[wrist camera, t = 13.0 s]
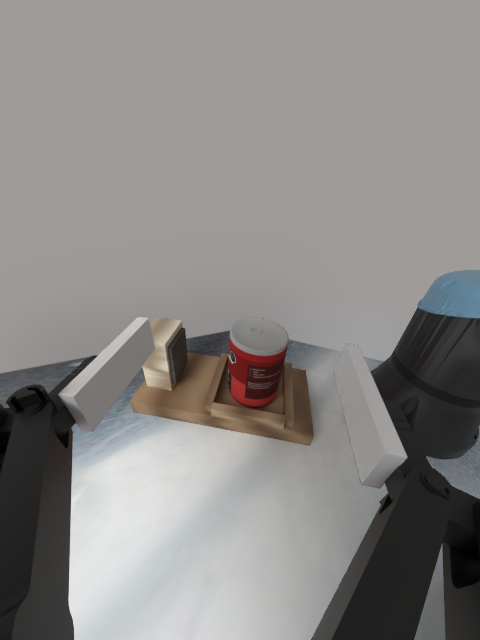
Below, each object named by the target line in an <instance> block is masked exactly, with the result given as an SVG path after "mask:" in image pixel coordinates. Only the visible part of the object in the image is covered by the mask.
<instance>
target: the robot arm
mask: <svg viewBox="0 0 480 640" xmlns="http://www.w3.org/2000/svg"><path fill="white" fill-rule="evenodd" d="M154 350H155V345H154V341H153V336H152V332H151V328H150V323H149V319H148V318H142V317H138V318H137V319H136V320H135V321H134V322H132V323H131V324H130V325H129V326H128V327H127V328H126V329H125V330H124V331H123V332H122V333H121V334H120V335H119V336H118V337H117V338H116V339H115V340H114V341H113V342H112V343H111V344H110V345H109V346H108V347H107V348H106V349H104V350H103V351H102V352H101V353H100V354H99V355H98V356H92V357H90V358H88V359H86V360H85V361H83V362H82V363H81V364H80V365H79V366H78V367H77V369H75V370H74V371H72V372H71V374H70V375H68V376H67V377H66V378H65V379H64V380H63V381H62V382H61V383H59V384H58V385H57V386H56V387H55V388H54V389H53V390H52V391H51V392H50V393H49V394H48V393H47V392H46V390H45V389H44V387H43V386H41V385H30V386H26V387H24V388H21V389H20V390H18V391H16V392H15V393H13V394H12V395H11V396H10V397H9V398H8V400H7V401H6V403H7V404H8V405H9V407H10V408H4V407H3V406H2V405H1V404H0V640H74V626H73V620H72V616H71V614H70V611H69V605H68V592H69V554H70V516H71V477H72V439H73V432H72V429H71V427H72V426H73V425H74V424H75V423H76V424H77V425H78V427H79V428H80V429H82V430H87V431H92V432H93V431H94V430H95V429H96V427H97V426H98V425H99V423H100V422H101V421H102V419H103V418H104V417H105V415H106V414H107V413H108V411H109V410H110V409H111V407H112V406H113V405H114V403H115V402H116V401H117V399H118V398H119V397H120V395H121V394H122V393H123V391H124V390H125V389H126V387H127V386H128V385H129V383H130V382H131V381H132V379H133V378H134V377H135V375H136V374H137V373H138V371H139V370H140V369H141V367H142V366H143V365H144V363H145V362H146V360H147V359H148V358H149V356H150V355H151V354H152V352H153V351H154ZM334 377H335V381H336V385H337V389H338V393H339V397H340V401H341V405H342V409H343V414H344V418H345V422H346V426H347V430H348V434H349V438H350V442H351V446H352V450H353V454H354V458H355V462H356V466H357V470H358V474H359V478H360V482H361V485H365V486H370V487H375V488H380V487H381V486H382V485H383V484H384V483H385V484H386V487H387V490H388V494H387V495H386V496H385V497H384V498H383V499H382V500H381V501H380V502H379V503H380V504H381V506H380V508H379V510H378V512H377V513H376V515H375V517H374V519H373V521H372V523H371V525H370V527H369V529H368V531H367V533H366V535H365V537H364V539H363V541H362V542H361V544H360V546H359V548H358V550H357V552H356V554H355V556H354V558H353V560H352V562H351V564H350V566H349V568H348V569H347V571H346V573H345V575H344V577H343V579H342V581H341V583H340V585H339V587H338V589H337V591H336V593H335V595H334V596H333V598H332V600H331V602H330V604H329V606H328V608H327V610H326V612H325V614H324V616H323V618H322V620H321V622H320V624H319V625H318V627H317V629H316V631H315V633H314V635H313V637H312V639H311V640H414V638H415V634H416V631H417V627H418V624H419V620H420V617H421V614H422V610H423V607H424V603H425V600H426V596H427V593H428V589H429V586H430V583H431V579H432V576H433V572H434V569H435V565H436V562H437V559H438V555H439V552H440V548H441V545H442V546H443V575H444V604H445V633H446V640H480V499H478V498H475V497H473V496H471V495H469V494H467V493H465V492H463V491H461V490H459V489H456V488H455V487H453V486H451V485H450V484H449V482H448V481H447V480H446V478H445V477H444V476H443V475H441V474H440V473H439V472H438V471H437V470H435V469H433V468H432V467H431V465H430V464H429V462H428V460H427V458H426V456H425V455H427V456H430V457H434V458H440V459H454V458H458V457H460V456H462V455H464V454H465V453H466V452H467V451H468V450H469V449H471V448H472V447H473V446H474V444H475V443H476V441H477V439H478V435H479V428H478V427H479V425H480V270H464V271H455V272H450V273H447V274H444V275H442V276H440V277H439V278H437V279H436V280H435V281H434V282H433V284H432V285H431V287H430V288H429V290H428V291H427V293H426V295H425V296H424V298H423V299H422V300H420V301H419V303H418V308H417V310H416V312H415V314H414V315H413V317H412V319H411V321H410V323H409V324H408V326H407V328H406V330H405V332H404V334H403V335H402V337H401V339H400V341H399V343H398V345H397V346H396V348H395V350H394V351H393V353H392V355H391V356H390V357H389V358H388V359H387V360H386V361H385V362H383V363H382V364H381V365H380V366H379V367H377V368H376V369H374V370H373V371H371V372H370V370H369V368H368V366H367V363H366V361H365V359H364V357H363V354H362V352H361V350H360V348H359V345H354V344H345V346H344V349H343V351H342V354H341V357H340V359H339V362H338V365H337V367H336V370H335V372H334Z"/></svg>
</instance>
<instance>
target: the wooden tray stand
mask: <svg viewBox="0 0 480 640" xmlns="http://www.w3.org/2000/svg"><path fill="white" fill-rule="evenodd" d="M150 328H151V332H152V336H153V341H154V345H155V350H154V351H153V352H152V354H151V355H150V356H149V358H148V359H147V360H146V362H145V363H144V365H143V370H144V375H145V380H144V382H143V383H142V385H141V386H140V388H139V389H138V390H137V392H136V393H135V395H134V396H133V398H132V399H131V400H130V402H131V405H132V408H133V412H137V413H143V414H148V415H153V416H158V417H164V418H169V419H174V420H179V421H185V422H190V423H195V424H201V425H206V426H211V427H216V428H222V429H227V430H232V431H237V432H243V433H248V434H253V435H259V436H264V437H269V438H274V439H280V440H285V441H290V442H295V443H301V444H306V445H310V443H311V440H312V438H313V435H314V433H313V425H312V417H311V409H310V401H309V393H308V385H307V377H306V370H299V369H293V368H292V366H291V364H290V363H284V364H283V368H282V373H281V377H280V381H279V385H278V390H277V394H276V396H275V398H274V399H273V401H272V402H271V403H270V404H268V405H267V406H265V407H262V408H249V407H245V406H243V405H241V404H239V403H238V402H237V401H235V400H234V398H233V397H232V396H231V394H230V392H229V389H228V361H229V353H228V354H225V353H221V356H220V357H216V356H209V355H203V354H197V353H190V352H187V346H186V335H185V328H183V327H182V321H180V320H173V319H167V318H159V317H157V318H156V319H155V320H154V321H153V323H152V324H151V325H150Z"/></svg>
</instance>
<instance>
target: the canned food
mask: <svg viewBox="0 0 480 640" xmlns="http://www.w3.org/2000/svg"><path fill="white" fill-rule="evenodd" d="M287 346H288V334H287V332H286V331H285V329H284V328H283V327H281V326H280V325H279V324H277V323H275V322H273V321H270V320H267V319H264V318H245V319H241V320H239V321H237V322H235V323H234V324H233V325H232V327H231V330H230V338H229V361H228V389H229V392H230V394H231V396H232V397H233V398H234V400H235V401H237V402H238V403H239V404H241V405H243V406H245V407H249V408H262V407H265V406H267V405H268V404H270V403H271V402H272V401H273V399H274V398H275V396H276V394H277V390H278V385H279V381H280V377H281V373H282V368H283V364H284V360H285V355H286V351H287Z"/></svg>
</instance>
